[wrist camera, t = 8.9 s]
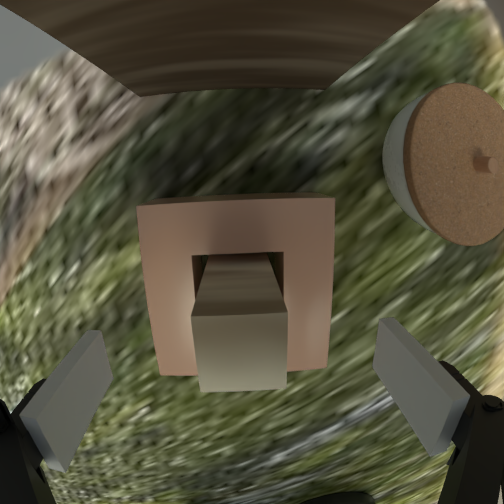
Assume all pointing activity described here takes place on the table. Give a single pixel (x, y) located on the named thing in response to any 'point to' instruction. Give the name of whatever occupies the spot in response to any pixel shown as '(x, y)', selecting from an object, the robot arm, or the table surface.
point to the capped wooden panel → (220, 39)
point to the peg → (240, 325)
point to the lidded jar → (449, 163)
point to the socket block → (230, 242)
